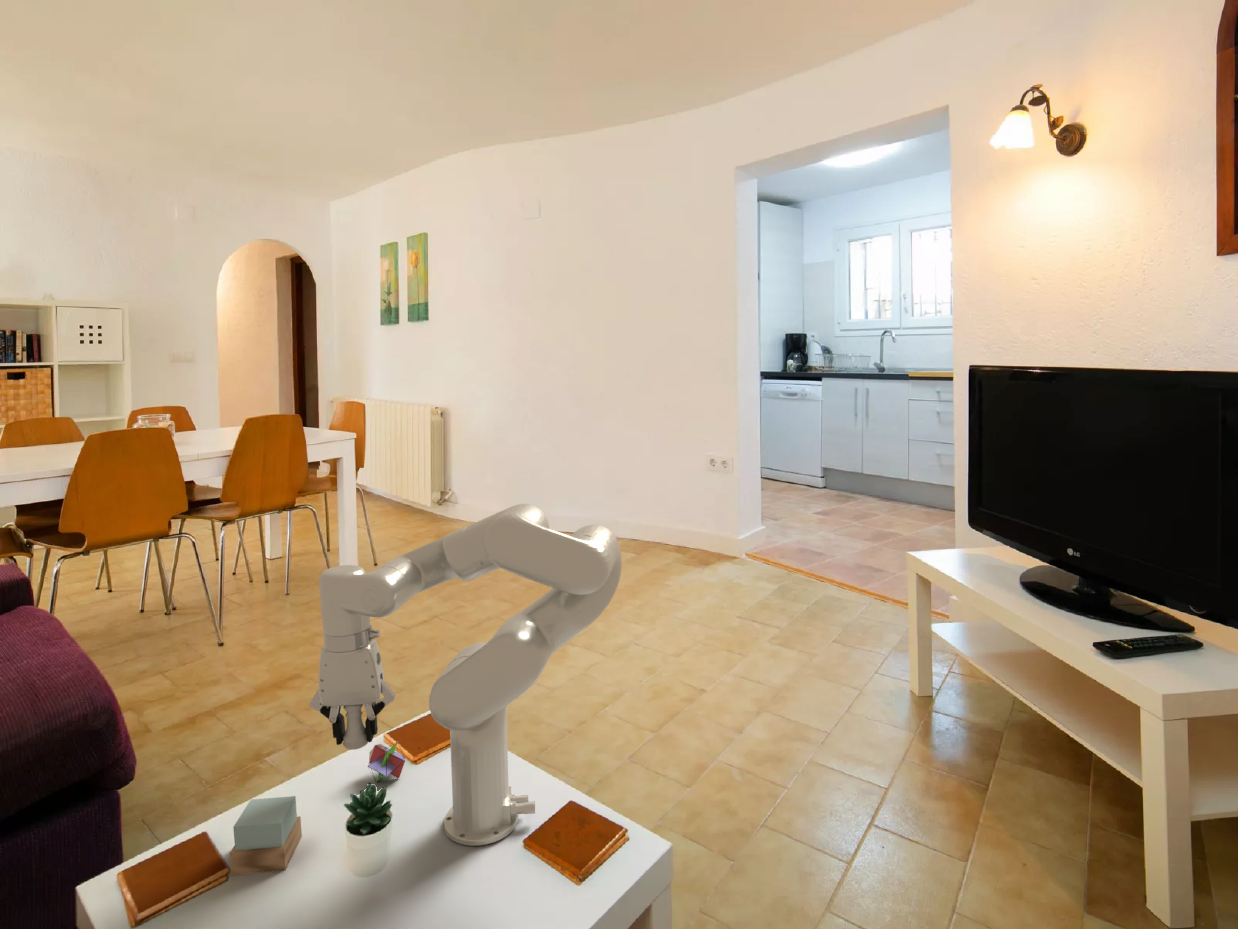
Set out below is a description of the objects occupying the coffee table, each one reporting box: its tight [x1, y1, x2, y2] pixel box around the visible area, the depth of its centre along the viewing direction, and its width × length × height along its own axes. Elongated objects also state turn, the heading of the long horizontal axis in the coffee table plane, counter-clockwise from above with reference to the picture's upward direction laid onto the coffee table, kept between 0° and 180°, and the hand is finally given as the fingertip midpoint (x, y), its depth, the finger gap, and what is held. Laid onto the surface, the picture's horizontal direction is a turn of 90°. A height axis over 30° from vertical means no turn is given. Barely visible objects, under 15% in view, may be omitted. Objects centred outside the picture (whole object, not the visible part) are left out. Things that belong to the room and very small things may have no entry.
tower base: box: [229, 815, 303, 876], centre depth 112 cm, size 8×8×4 cm
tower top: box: [232, 795, 298, 851], centre depth 112 cm, size 7×7×4 cm
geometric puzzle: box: [367, 741, 406, 783], centre depth 134 cm, size 7×7×8 cm
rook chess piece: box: [342, 704, 369, 751], centre depth 121 cm, size 4×4×8 cm
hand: (356, 738), depth 121 cm, fingers closed on rook chess piece, 4 cm apart
